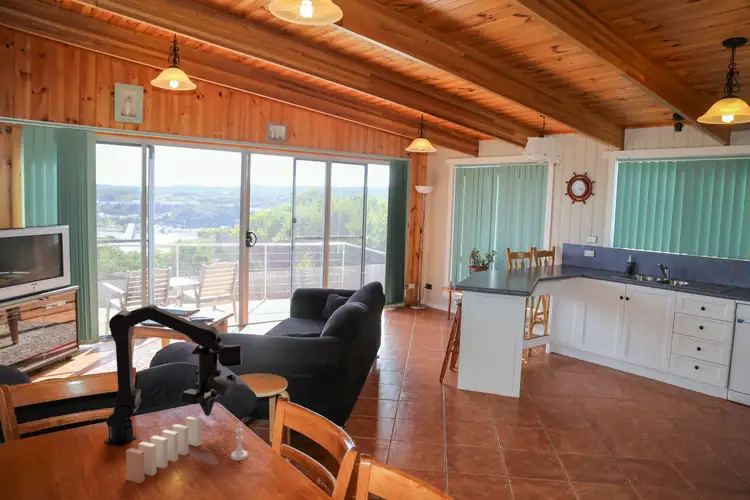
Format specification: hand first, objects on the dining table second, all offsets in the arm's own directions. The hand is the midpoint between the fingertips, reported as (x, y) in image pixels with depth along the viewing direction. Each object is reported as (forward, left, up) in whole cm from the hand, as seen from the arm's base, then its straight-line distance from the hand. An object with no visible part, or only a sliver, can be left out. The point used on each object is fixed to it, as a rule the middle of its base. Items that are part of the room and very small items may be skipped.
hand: (207, 415), depth 165 cm
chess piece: (+17, -7, -7) cm, 20 cm away
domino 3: (0, -21, -7) cm, 22 cm away
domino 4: (0, -17, -7) cm, 18 cm away
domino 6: (0, -6, -7) cm, 9 cm away
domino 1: (0, -29, -7) cm, 30 cm away
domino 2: (0, -25, -7) cm, 26 cm away
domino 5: (0, -12, -7) cm, 14 cm away
